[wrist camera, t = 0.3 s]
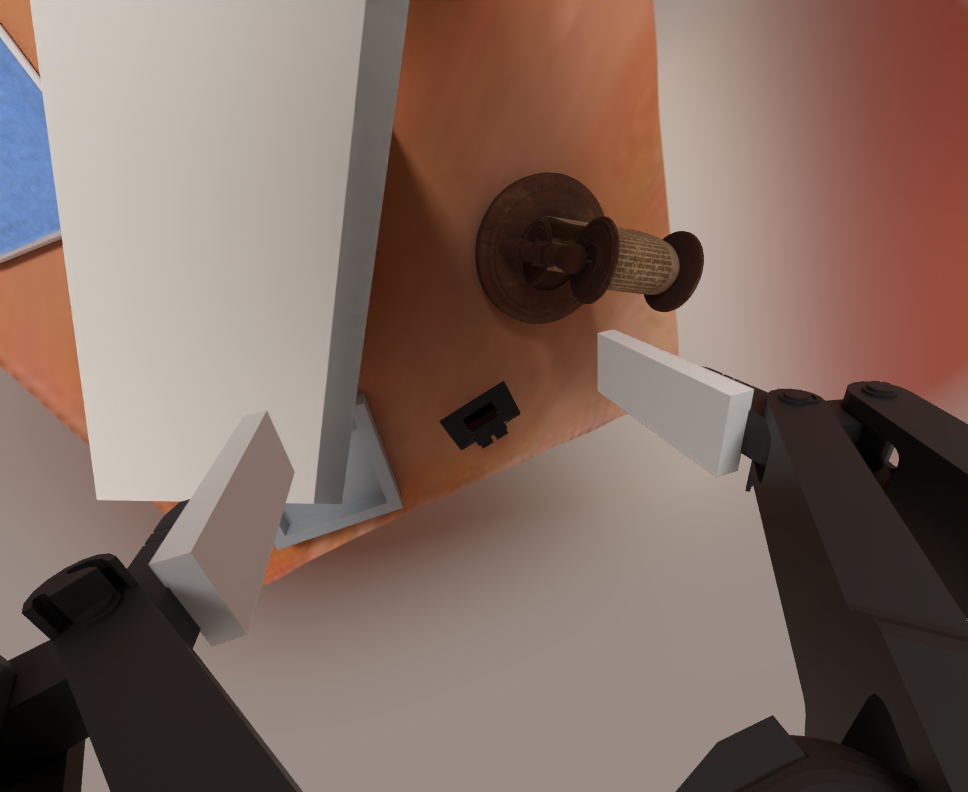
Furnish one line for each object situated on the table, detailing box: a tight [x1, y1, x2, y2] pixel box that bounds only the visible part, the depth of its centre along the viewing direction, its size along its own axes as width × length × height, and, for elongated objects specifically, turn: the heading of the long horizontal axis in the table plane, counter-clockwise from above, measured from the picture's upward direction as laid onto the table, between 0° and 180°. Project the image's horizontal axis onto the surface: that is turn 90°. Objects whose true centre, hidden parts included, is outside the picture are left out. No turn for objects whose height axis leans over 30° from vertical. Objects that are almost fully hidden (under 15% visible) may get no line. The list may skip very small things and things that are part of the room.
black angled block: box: [440, 381, 520, 450], centre depth 47 cm, size 12×7×5 cm, turn 118°
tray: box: [274, 393, 403, 550], centre depth 44 cm, size 15×15×3 cm
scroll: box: [475, 173, 704, 324], centre depth 33 cm, size 15×15×20 cm
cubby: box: [30, 0, 410, 504], centre depth 26 cm, size 24×11×22 cm, turn 166°
